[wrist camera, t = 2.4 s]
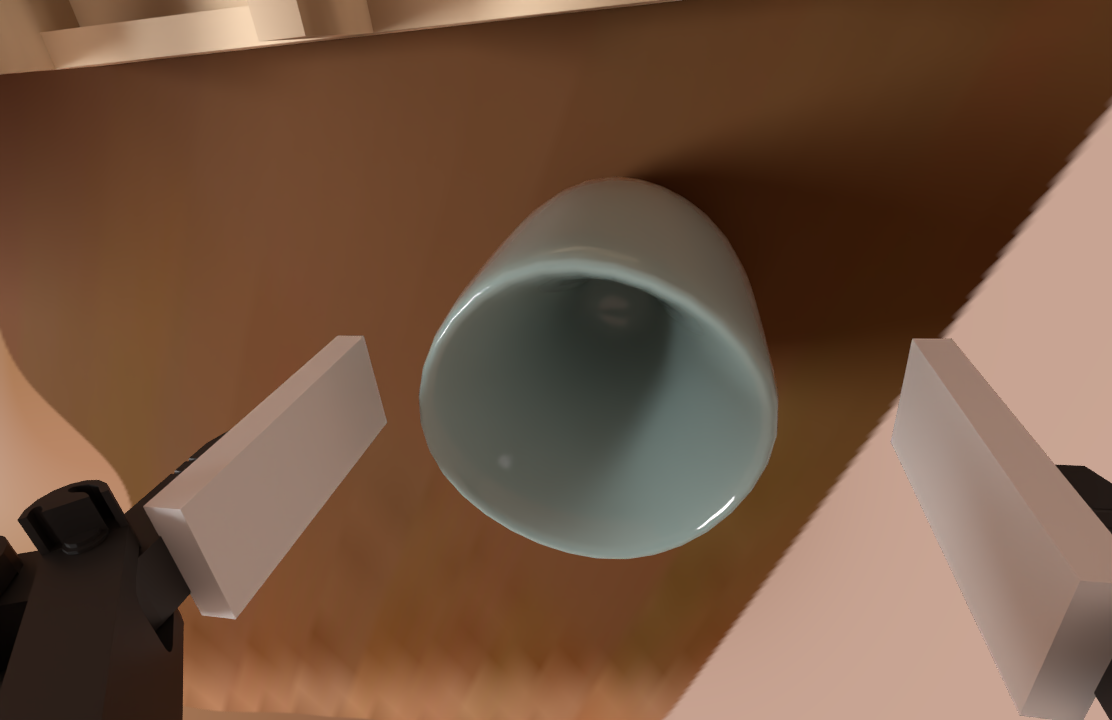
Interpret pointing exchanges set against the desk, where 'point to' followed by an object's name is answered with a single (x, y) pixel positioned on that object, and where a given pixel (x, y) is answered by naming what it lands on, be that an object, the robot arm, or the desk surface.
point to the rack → (229, 25)
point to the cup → (604, 376)
